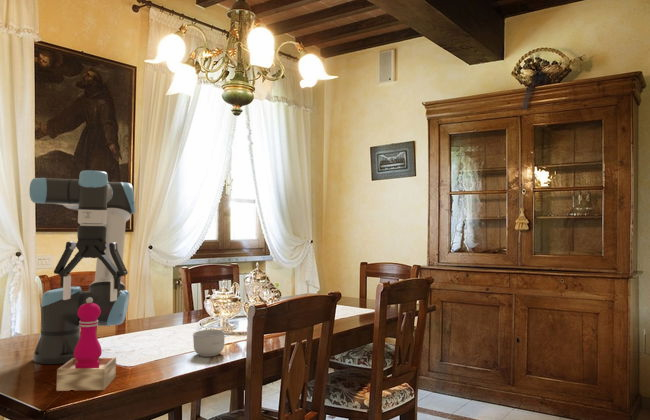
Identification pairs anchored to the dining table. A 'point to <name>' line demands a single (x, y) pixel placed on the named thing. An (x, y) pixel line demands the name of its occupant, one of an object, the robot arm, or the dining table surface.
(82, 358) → the pepper mill
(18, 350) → the dining table surface
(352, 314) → the dining table surface
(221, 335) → the teacup
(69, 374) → the oak box
